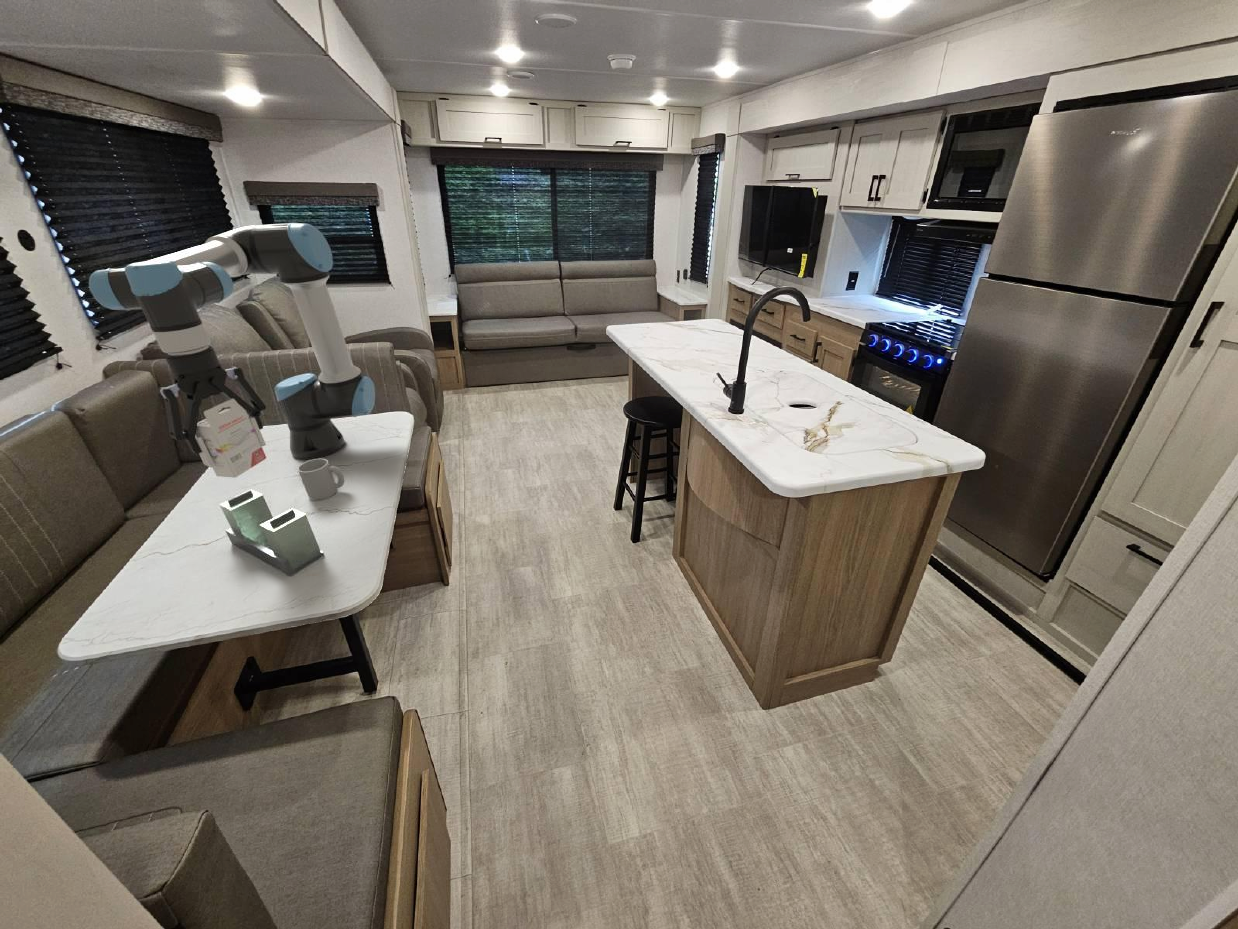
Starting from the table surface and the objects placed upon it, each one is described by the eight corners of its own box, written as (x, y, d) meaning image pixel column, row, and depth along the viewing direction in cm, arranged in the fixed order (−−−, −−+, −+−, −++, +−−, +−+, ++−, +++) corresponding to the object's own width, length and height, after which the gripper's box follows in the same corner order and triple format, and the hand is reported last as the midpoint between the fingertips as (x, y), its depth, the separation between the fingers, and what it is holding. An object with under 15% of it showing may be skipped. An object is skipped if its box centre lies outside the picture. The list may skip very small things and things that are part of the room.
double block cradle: (266, 526, 129) (246, 484, 123) (324, 555, 118) (306, 510, 112) (232, 544, 123) (210, 501, 117) (290, 576, 112) (269, 530, 106)
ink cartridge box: (248, 457, 114) (220, 394, 107) (267, 458, 113) (241, 395, 106) (214, 476, 107) (182, 410, 100) (235, 478, 106) (204, 412, 99)
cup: (313, 488, 144) (302, 460, 140) (351, 483, 146) (342, 455, 141) (305, 502, 138) (293, 473, 134) (345, 497, 140) (335, 468, 135)
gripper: (239, 332, 108) (278, 430, 119) (107, 364, 91) (167, 474, 102) (259, 336, 104) (297, 436, 115) (125, 370, 88) (185, 483, 99)
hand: (236, 454), depth 109 cm, fingers closed on ink cartridge box, 9 cm apart
